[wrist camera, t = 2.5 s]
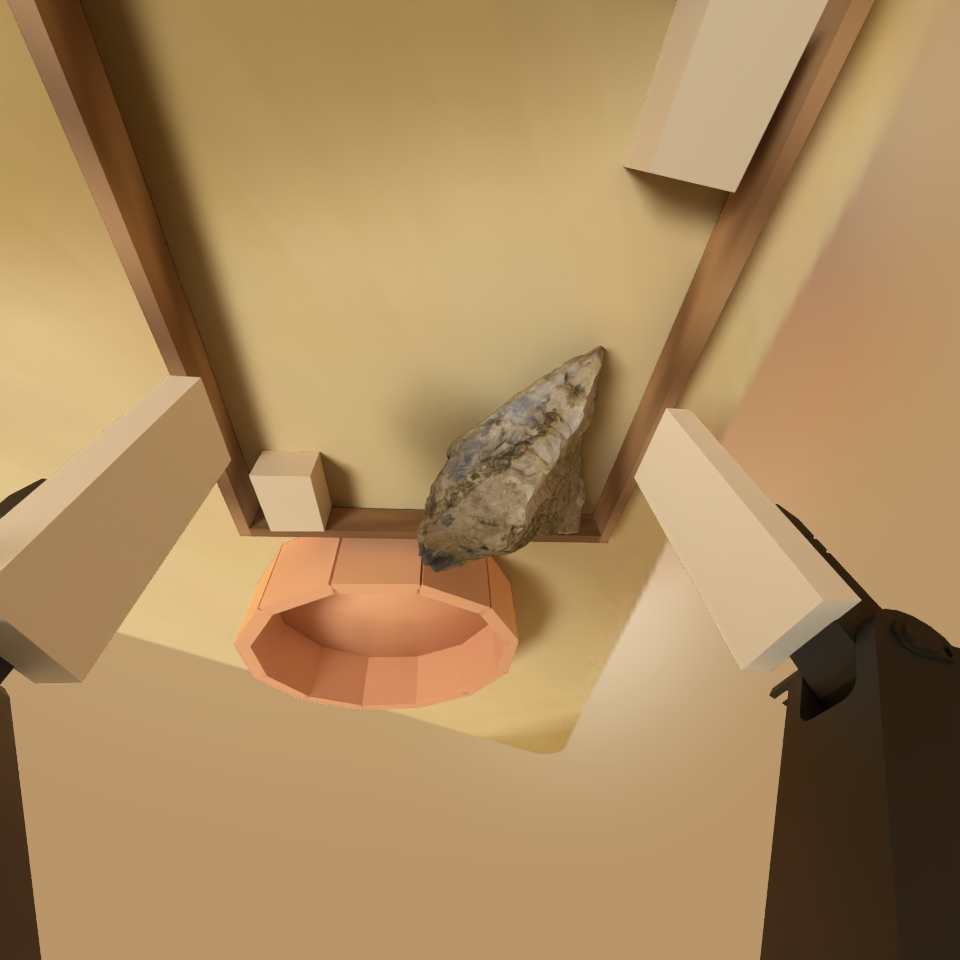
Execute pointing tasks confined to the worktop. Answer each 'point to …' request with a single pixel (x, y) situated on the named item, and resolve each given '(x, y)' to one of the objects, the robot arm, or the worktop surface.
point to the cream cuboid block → (292, 490)
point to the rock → (514, 472)
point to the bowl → (377, 625)
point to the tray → (152, 274)
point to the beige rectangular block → (719, 86)
